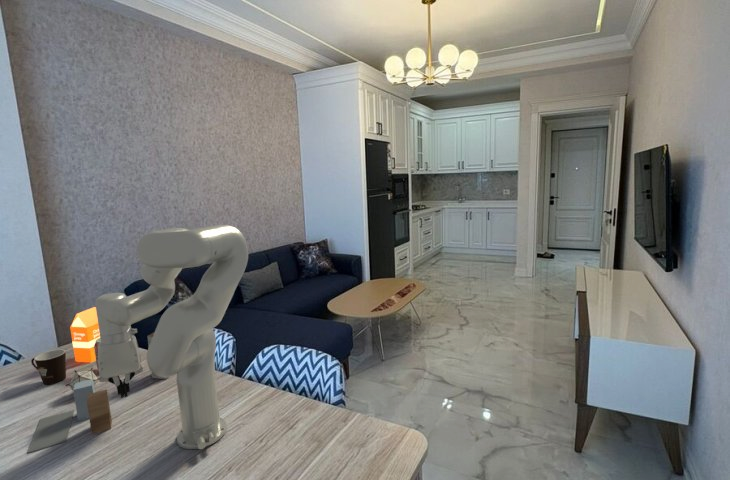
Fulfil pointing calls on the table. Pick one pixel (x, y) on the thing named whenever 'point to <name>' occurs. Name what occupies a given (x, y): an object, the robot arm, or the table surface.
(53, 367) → the coffee mug
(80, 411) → the slate block
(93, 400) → the walnut block
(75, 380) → the game die
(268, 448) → the table surface
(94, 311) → the orange juice
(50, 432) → the felt mat
